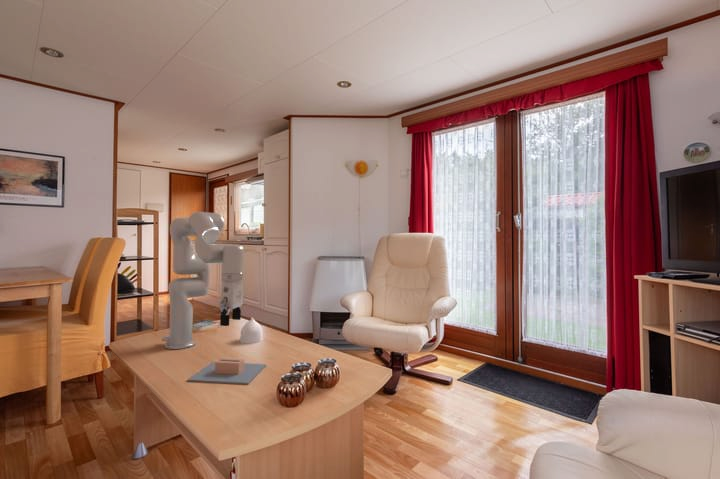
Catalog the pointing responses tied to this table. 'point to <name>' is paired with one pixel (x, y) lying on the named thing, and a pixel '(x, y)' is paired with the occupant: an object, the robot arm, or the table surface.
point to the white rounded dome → (251, 332)
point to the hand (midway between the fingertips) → (230, 322)
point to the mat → (241, 378)
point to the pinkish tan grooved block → (229, 366)
